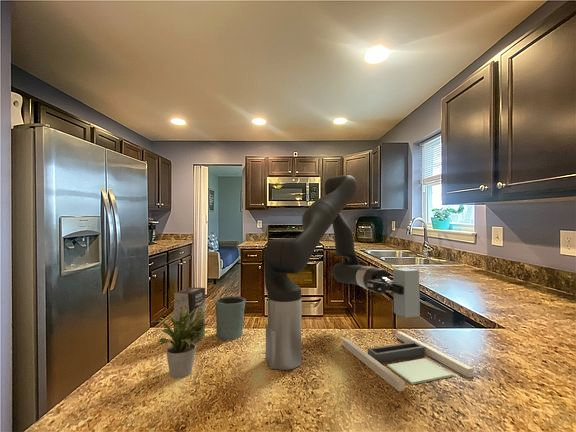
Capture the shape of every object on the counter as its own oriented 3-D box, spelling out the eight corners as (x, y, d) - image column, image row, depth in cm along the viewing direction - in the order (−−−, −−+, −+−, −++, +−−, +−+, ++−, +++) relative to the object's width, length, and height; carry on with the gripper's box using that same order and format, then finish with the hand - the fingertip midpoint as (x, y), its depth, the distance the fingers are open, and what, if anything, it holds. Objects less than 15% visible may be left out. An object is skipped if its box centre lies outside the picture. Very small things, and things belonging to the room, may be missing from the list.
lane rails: (399, 391, 63) (398, 382, 63) (342, 345, 88) (342, 338, 88) (472, 376, 70) (472, 368, 70) (400, 337, 94) (400, 331, 94)
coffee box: (191, 346, 88) (191, 293, 88) (172, 344, 89) (173, 292, 89) (205, 335, 96) (206, 287, 97) (188, 334, 98) (188, 286, 98)
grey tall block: (405, 317, 74) (404, 271, 74) (393, 312, 78) (393, 268, 79) (419, 316, 75) (419, 270, 76) (407, 311, 80) (406, 267, 80)
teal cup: (219, 329, 102) (219, 295, 102) (247, 330, 101) (247, 296, 102) (210, 341, 92) (211, 303, 92) (242, 341, 91) (242, 303, 92)
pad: (411, 384, 66) (411, 382, 66) (387, 366, 75) (387, 364, 75) (452, 376, 70) (452, 374, 70) (424, 360, 78) (424, 358, 78)
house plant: (170, 399, 60) (171, 321, 61) (133, 381, 68) (135, 311, 68) (219, 370, 72) (220, 305, 73) (184, 357, 80) (184, 298, 80)
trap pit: (376, 364, 76) (376, 354, 76) (367, 357, 80) (367, 348, 80) (424, 356, 81) (424, 347, 81) (414, 350, 85) (414, 341, 85)
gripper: (353, 268, 89) (388, 277, 73) (391, 266, 94) (432, 274, 78) (353, 292, 89) (388, 306, 73) (391, 289, 94) (432, 302, 77)
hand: (410, 290), depth 75 cm, fingers closed on grey tall block, 4 cm apart
